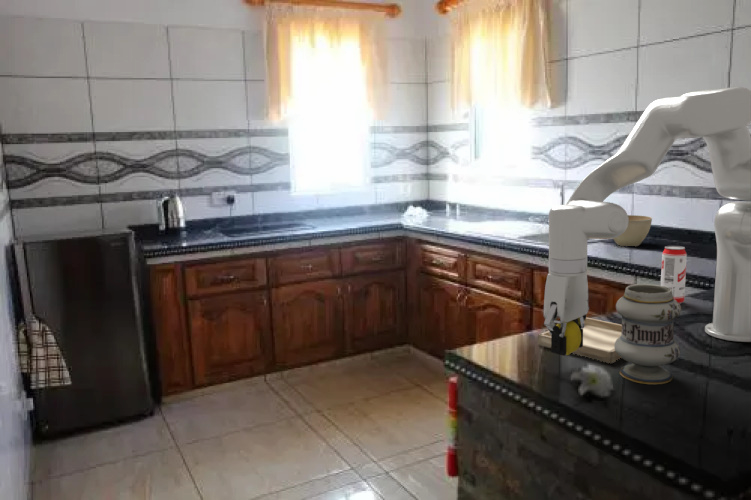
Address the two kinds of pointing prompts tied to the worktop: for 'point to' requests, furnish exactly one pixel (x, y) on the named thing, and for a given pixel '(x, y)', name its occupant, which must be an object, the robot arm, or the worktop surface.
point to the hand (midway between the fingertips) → (567, 348)
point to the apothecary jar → (647, 333)
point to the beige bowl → (634, 231)
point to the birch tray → (593, 340)
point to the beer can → (674, 271)
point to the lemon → (572, 336)
